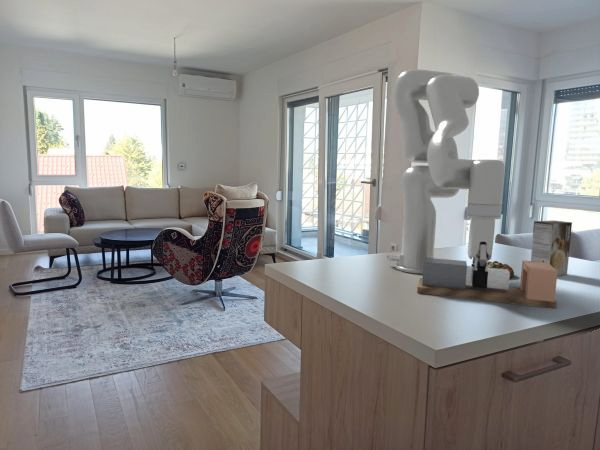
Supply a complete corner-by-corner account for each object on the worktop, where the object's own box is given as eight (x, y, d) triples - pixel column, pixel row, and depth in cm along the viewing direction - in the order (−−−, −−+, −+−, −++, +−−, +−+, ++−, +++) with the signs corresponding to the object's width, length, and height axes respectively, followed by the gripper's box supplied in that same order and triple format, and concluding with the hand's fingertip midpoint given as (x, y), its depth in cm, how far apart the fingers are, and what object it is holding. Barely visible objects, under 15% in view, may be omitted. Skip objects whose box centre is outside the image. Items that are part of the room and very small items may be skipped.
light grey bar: (426, 281, 106) (427, 265, 105) (427, 277, 109) (428, 262, 109) (508, 289, 100) (509, 272, 99) (506, 285, 103) (507, 269, 103)
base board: (417, 292, 104) (417, 287, 104) (419, 283, 113) (420, 277, 113) (556, 308, 94) (556, 302, 94) (546, 296, 103) (547, 290, 103)
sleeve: (422, 285, 105) (423, 261, 104) (423, 280, 111) (424, 257, 110) (465, 290, 102) (467, 265, 101) (464, 284, 108) (466, 261, 107)
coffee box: (547, 270, 134) (552, 219, 132) (567, 274, 128) (573, 222, 126) (528, 272, 129) (533, 220, 127) (549, 277, 124) (554, 223, 122)
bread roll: (522, 276, 125) (521, 259, 124) (499, 285, 119) (498, 268, 118) (488, 270, 134) (487, 254, 133) (465, 278, 128) (464, 262, 128)
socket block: (526, 298, 96) (529, 268, 95) (519, 288, 105) (522, 260, 104) (554, 301, 94) (557, 271, 93) (544, 290, 103) (547, 262, 103)
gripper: (465, 208, 111) (460, 274, 113) (468, 213, 94) (463, 290, 97) (497, 209, 108) (491, 277, 111) (505, 215, 92) (499, 294, 94)
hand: (478, 283), depth 104 cm, fingers open, 7 cm apart
